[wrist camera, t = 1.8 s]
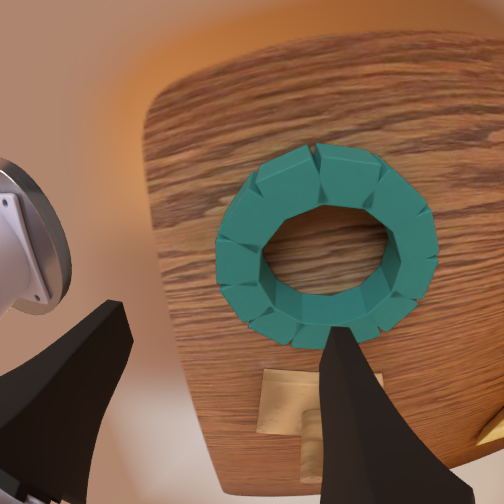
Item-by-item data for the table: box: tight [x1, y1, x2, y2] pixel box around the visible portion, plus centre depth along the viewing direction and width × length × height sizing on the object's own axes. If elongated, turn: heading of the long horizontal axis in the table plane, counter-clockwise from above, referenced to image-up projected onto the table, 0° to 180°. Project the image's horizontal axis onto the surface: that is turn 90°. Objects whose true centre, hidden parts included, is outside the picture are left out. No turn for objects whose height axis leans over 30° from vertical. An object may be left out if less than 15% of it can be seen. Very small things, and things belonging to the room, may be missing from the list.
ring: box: [215, 143, 439, 349], centre depth 15 cm, size 10×10×2 cm
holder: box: [256, 369, 384, 483], centre depth 21 cm, size 9×9×7 cm
